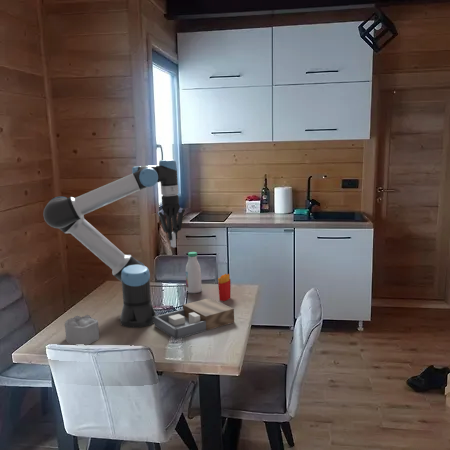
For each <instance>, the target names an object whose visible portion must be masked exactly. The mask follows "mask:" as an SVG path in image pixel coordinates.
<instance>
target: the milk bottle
mask: <svg viewBox="0 0 450 450" xmlns="http://www.w3.org/2000/svg"><path fill="white" fill-rule="evenodd" d="M187 258H188V260H187V263H186V265H185V289H186V290H187V291H188V292H187V291H186V292H187V293H189V294H197V293H201V292H202V288H203V287H202V272H201V270H202V269H201V264H200V263H199V261H198V252H196V251H190V252H187Z"/></svg>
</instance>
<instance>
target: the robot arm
mask: <svg viewBox="0 0 450 450" xmlns="http://www.w3.org/2000/svg"><path fill="white" fill-rule="evenodd" d="M157 183H160V192H161V210H159V211H157V212H156V214H157V215H158V217H159V220H160V222H161V226H162V229H163V232H165V233H166V234H167V237H168V240H169V242H170V247H171V248H177V241H176V240H178V233H179V232H180V231H181V230H182V224H183V217H184V213H185V212H186V209H185V208H182V207H181V205H180V196H179V184H178V167H177V161H176V160H175V159H162V160H159V163H158V164H155V165H154V164H153V165H136V166H133V167H132V168H131V173H130V174H128V175H125V176H124V177H121V178H119V179H117V180H113V181H112V182H109V183H107V184H105V185H102V186H100V187H98V188H95V189H92V190H90V191H88V192H86V193H83V194H81V195H79V196H76V197H73V196H70V197H66V196H56V197H53V198H52V199H50V200H49V201H48V203H46V205H45V207H44V208H43V213H42V215H43V220H44V222H45V223H46V224H47V225H48V226H50V227H51V228H54V229H58V230H60V231H62V233H64V234H70V235H71V236H72V237H74V238H75V239H76V240H77V241H79V243H81V244H82V245H83V246H84V247H85V248H87V250H89V251H90V252H91V253H92V254H93V255H94V256H96V257H97V258H98V259H99V260H101V262H103V263H104V264H105V265H106V266H107V267H109V268H110V269H111V270H112V271H111V272H112V273H111V274H112V275H113V276H114V277H115V278H116V279H117V280H118V281H119V282H121V287H122V288H121V289H122V290H121V291H122V300H123V301H122V303H123V305H122V310H121V314H120V316H119V319H120V320H119V323H120V325H121V326H123V327H126V328H132V329H133V328H143V327H148V326H151V325H152V324H154V316H157V313H156V311H155V309H154V306H153V304H152V295H151V280H150V278H151V273H150V270H149V268H148V267H147V266H145V264H144V263H143V262H141V261H140V260H137V259H136V258H135V257H133V256H132V255H131V254H125V253H124V252H123V251H121V249H119V248H118V247H117V246H116V245H115V244H114V243H112V242H111V241H110V240H109V239H108V238H107V237H106V236H104V234H103V233H101V232H100V231H99V230H98V229H97V228H95V227H94V226H93V225H92V224H91V223H90V222H88V220H86V219H85V216H84V215H86V214H89V213H92V212H93V211H96V210H98V209H100V208H103V207H104V206H108V205H110V204H112V203H114V202H116V201H118V200H120V199H123V198H125V197H128V196H131V195H132V194H134V193H137V192H139V191H141V190H144V189H146V188H151V187H154V186H155V185H156V184H157ZM164 215H165V216H164ZM165 217H166V219H165Z"/></svg>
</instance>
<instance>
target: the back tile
mask: <svg viewBox="0 0 450 450" xmlns="http://www.w3.org/2000/svg"><path fill="white" fill-rule="evenodd" d="M169 323H171V324H173V325H174V326H176V325H179V324H183V323H185V317H184V316H182V315H180V314H176V315H172V316H169Z"/></svg>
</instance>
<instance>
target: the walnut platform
mask: <svg viewBox="0 0 450 450" xmlns="http://www.w3.org/2000/svg"><path fill="white" fill-rule="evenodd" d="M182 309H184V313H185V317H187V318H189V313H192V312H195V313H196V314H198V315H200V322H201V321H204V320H205V321H206V331H209V330H213V329H216V328H220V327H223V326H226V325H230V324H233V323H235V309H234V307H231V306H229V305H227V304H225V303H223V302H220V301H218V300H216V299H213V298H212V297H209V298H204V299H201V300H196V301H192V302H189V303H188V302H187V303H183V304H182Z"/></svg>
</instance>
